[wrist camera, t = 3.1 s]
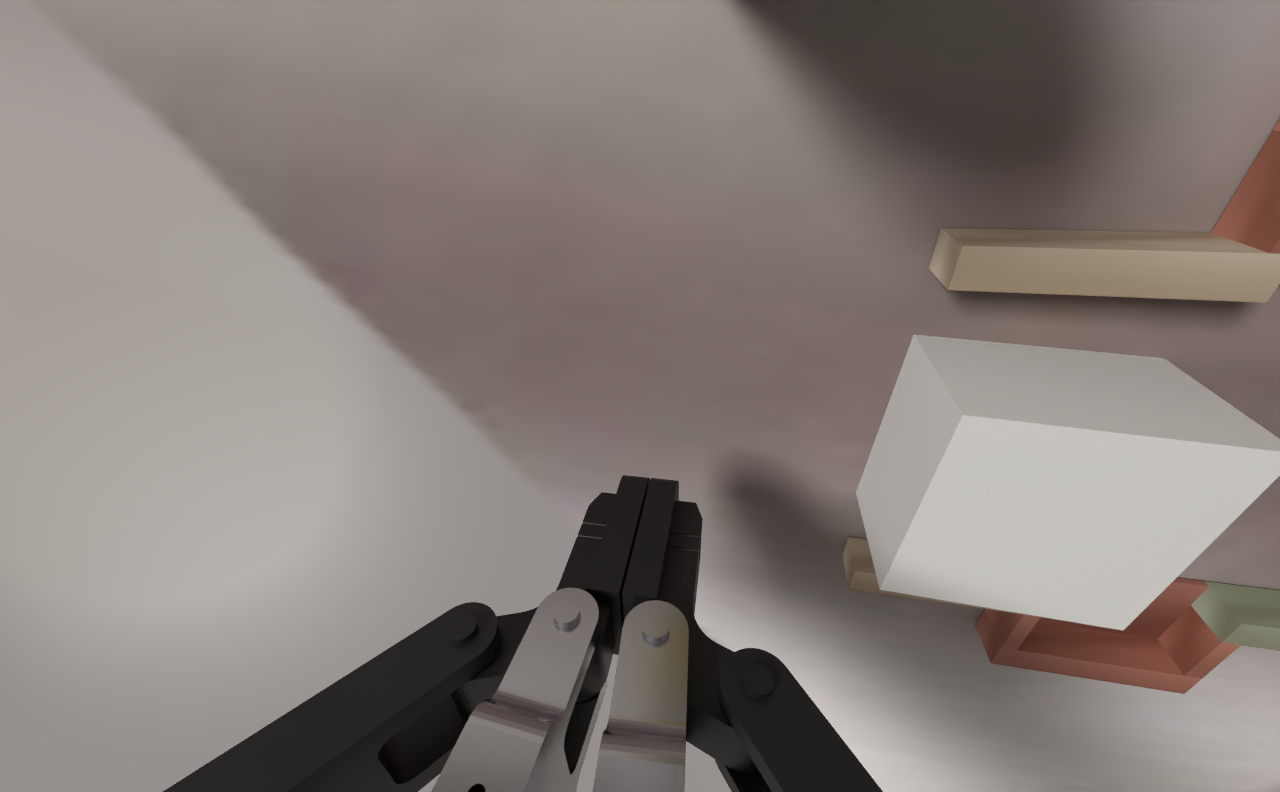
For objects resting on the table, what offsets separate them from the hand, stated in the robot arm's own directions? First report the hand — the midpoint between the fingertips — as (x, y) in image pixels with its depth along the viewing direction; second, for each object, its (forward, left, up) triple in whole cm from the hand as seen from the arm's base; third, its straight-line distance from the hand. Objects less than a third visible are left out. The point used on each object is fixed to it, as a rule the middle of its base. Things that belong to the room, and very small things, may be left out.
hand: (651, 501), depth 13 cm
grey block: (0, +10, -4) cm, 10 cm away
